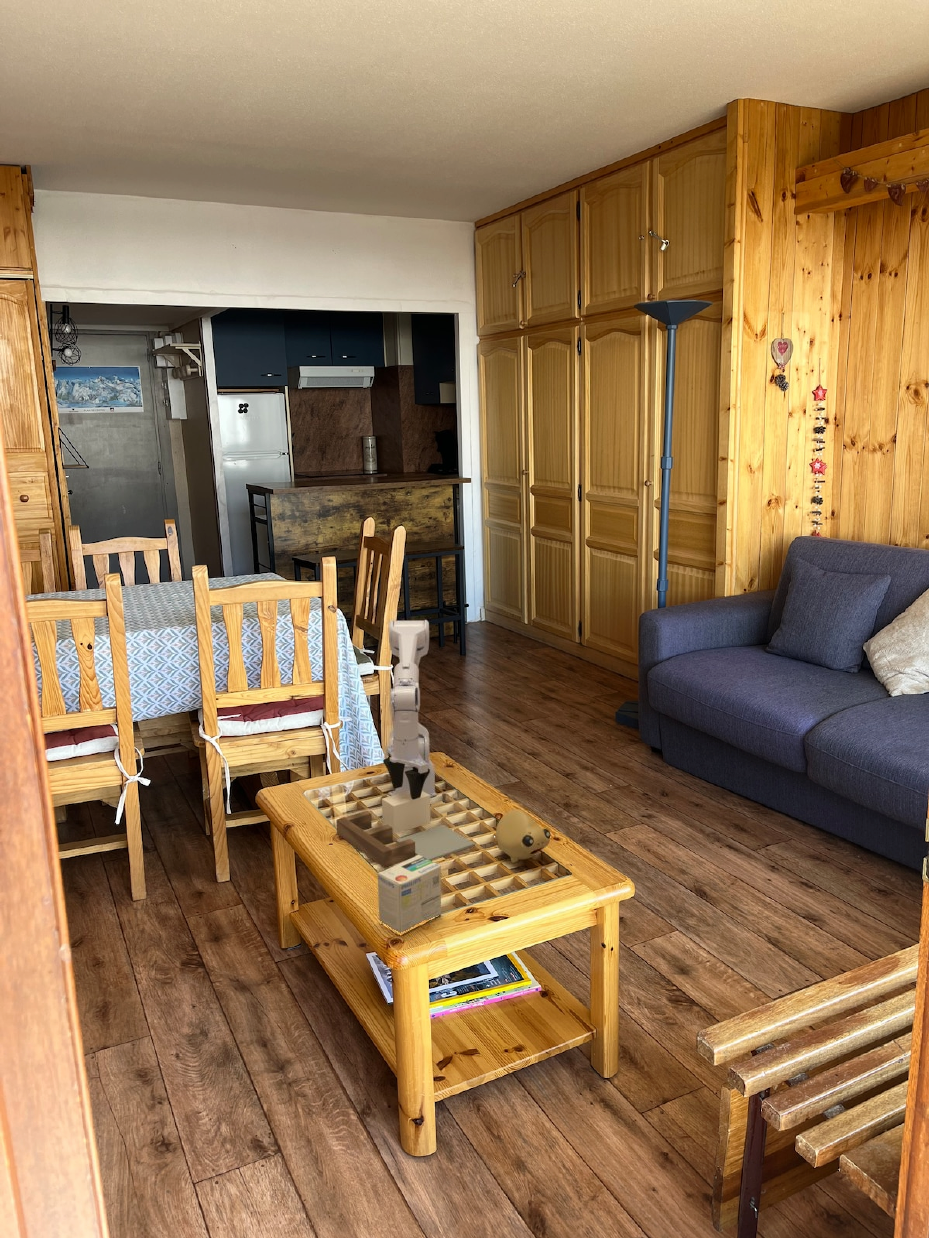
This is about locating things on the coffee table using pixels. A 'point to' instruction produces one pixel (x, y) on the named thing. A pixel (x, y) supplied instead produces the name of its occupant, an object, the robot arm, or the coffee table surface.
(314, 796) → the coffee table surface
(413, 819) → the off-white block
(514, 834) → the tan toy animal
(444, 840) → the grey mat
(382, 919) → the light bulb box
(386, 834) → the walnut rack
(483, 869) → the coffee table surface
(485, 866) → the coffee table surface
